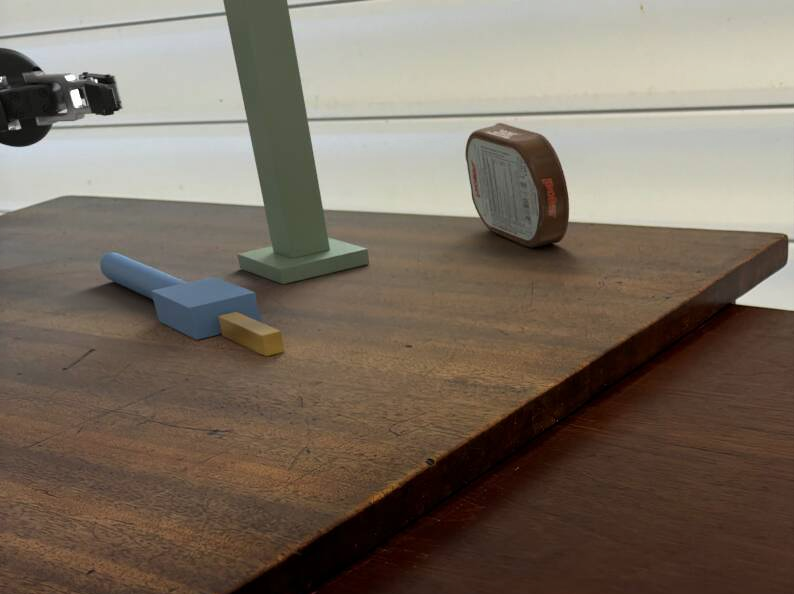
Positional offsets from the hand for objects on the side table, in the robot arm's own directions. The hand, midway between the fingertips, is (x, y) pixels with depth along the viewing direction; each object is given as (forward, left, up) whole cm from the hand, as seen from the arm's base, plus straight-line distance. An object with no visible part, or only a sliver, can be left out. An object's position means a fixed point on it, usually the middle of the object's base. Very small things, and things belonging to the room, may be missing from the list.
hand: (54, 108), depth 93 cm
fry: (+21, -21, -12) cm, 33 cm away
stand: (+18, 0, -12) cm, 22 cm away
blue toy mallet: (+11, -11, -12) cm, 20 cm away
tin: (+35, +7, -13) cm, 38 cm away
